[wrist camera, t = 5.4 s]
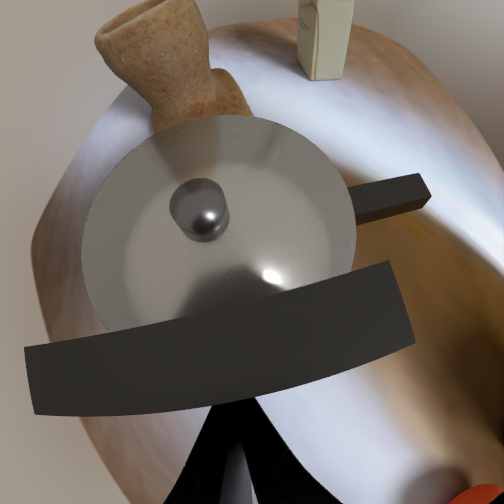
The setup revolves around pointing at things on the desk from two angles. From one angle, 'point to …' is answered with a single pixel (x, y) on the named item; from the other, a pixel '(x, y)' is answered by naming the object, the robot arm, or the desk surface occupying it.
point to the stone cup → (169, 62)
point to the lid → (218, 277)
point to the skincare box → (323, 37)
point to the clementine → (478, 495)
